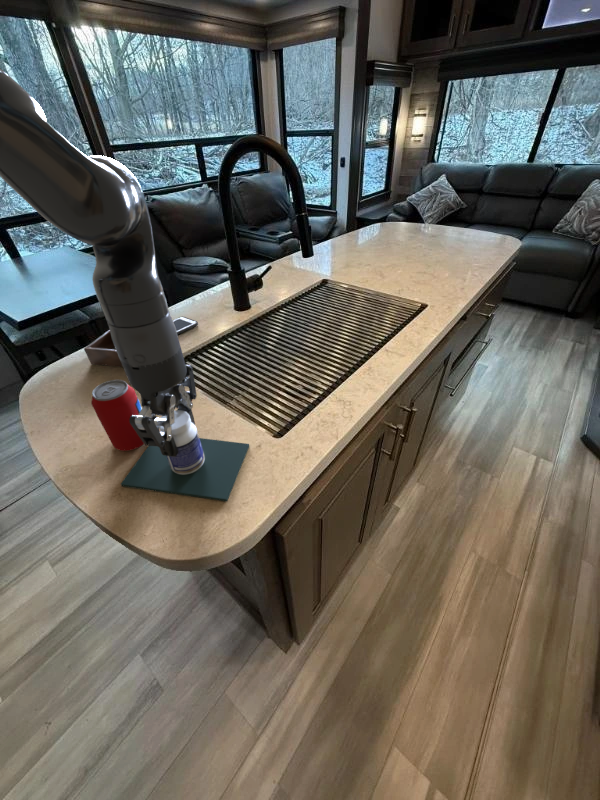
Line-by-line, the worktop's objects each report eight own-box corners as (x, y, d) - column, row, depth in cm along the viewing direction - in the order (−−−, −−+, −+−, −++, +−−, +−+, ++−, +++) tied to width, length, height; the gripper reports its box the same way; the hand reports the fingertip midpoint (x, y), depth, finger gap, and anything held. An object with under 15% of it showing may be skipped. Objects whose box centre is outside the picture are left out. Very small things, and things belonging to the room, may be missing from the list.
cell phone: (199, 324, 100) (199, 321, 99) (158, 344, 91) (157, 341, 90) (183, 318, 103) (182, 315, 103) (141, 337, 94) (140, 333, 94)
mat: (121, 486, 54) (120, 484, 53) (158, 435, 63) (157, 432, 63) (227, 501, 51) (226, 499, 51) (249, 446, 60) (249, 443, 60)
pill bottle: (212, 458, 57) (200, 415, 51) (187, 481, 54) (171, 437, 47) (189, 445, 60) (175, 403, 54) (163, 466, 56) (145, 423, 50)
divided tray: (91, 364, 83) (83, 348, 81) (115, 344, 91) (109, 329, 88) (162, 370, 81) (157, 354, 78) (180, 350, 88) (176, 334, 86)
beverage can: (160, 432, 63) (140, 381, 56) (135, 457, 58) (110, 405, 51) (131, 425, 65) (109, 374, 58) (105, 448, 60) (77, 396, 53)
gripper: (151, 322, 49) (178, 409, 59) (86, 376, 38) (134, 472, 48) (199, 325, 48) (218, 413, 58) (147, 382, 37) (182, 478, 47)
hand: (180, 439), depth 53 cm, fingers closed on pill bottle, 5 cm apart
